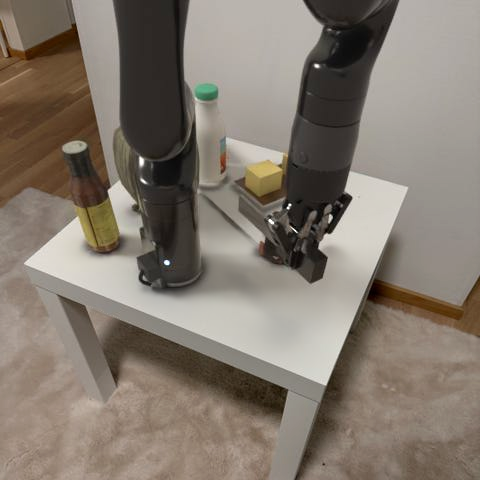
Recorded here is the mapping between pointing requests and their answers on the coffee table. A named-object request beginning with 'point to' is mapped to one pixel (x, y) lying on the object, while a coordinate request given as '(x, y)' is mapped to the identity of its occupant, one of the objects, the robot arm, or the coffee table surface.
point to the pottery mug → (270, 248)
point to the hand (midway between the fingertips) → (299, 261)
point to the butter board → (267, 197)
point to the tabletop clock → (131, 165)
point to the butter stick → (263, 177)
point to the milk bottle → (210, 134)
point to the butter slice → (284, 163)
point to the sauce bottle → (91, 199)
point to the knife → (310, 258)
